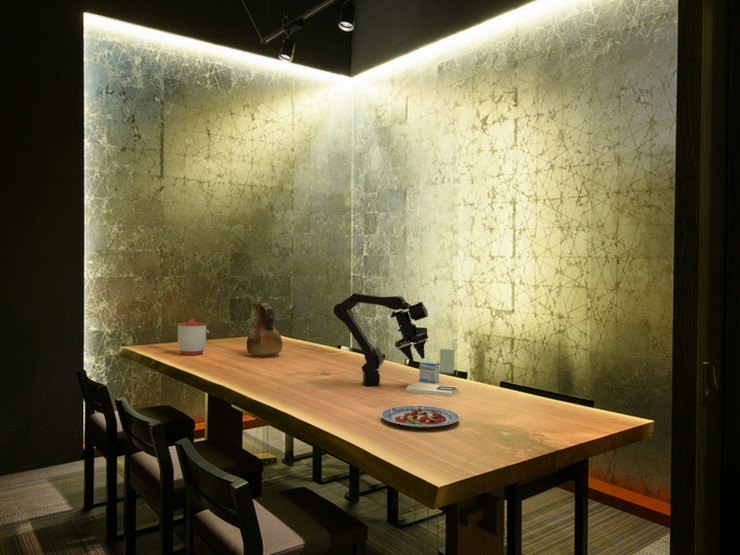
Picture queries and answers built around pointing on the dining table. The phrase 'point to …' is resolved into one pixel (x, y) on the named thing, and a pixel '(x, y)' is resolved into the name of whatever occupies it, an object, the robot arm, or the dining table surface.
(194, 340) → the citrus juicer
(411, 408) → the ceramic plate
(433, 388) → the ticket base
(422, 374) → the medicine box
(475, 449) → the dining table surface
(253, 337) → the ceramic pitcher
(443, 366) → the grey green upright block
